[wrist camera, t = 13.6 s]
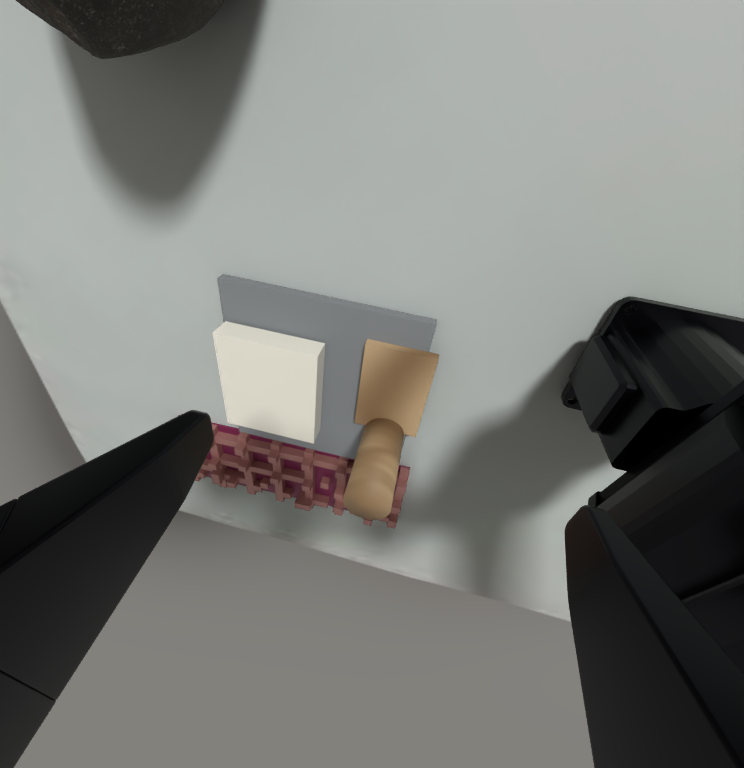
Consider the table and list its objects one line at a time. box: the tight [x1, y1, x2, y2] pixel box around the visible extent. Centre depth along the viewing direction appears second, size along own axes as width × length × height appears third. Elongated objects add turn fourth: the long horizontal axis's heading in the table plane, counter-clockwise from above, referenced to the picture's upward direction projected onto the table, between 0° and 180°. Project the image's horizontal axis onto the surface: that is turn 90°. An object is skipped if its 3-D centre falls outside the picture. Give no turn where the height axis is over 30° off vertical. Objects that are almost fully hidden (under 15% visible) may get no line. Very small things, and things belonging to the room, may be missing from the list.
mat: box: [217, 274, 437, 460], centre depth 23 cm, size 12×12×1 cm
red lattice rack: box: [179, 415, 410, 528], centre depth 29 cm, size 7×19×2 cm, turn 84°
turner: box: [343, 339, 439, 520], centre depth 20 cm, size 4×8×6 cm, turn 172°
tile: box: [213, 321, 325, 444], centre depth 22 cm, size 2×7×6 cm
